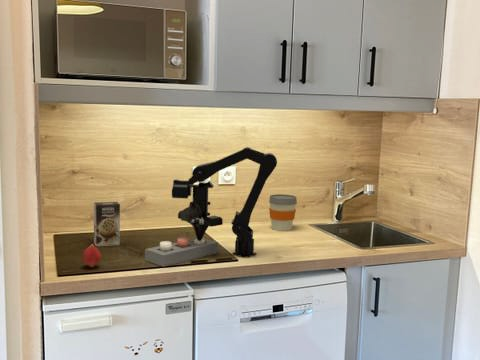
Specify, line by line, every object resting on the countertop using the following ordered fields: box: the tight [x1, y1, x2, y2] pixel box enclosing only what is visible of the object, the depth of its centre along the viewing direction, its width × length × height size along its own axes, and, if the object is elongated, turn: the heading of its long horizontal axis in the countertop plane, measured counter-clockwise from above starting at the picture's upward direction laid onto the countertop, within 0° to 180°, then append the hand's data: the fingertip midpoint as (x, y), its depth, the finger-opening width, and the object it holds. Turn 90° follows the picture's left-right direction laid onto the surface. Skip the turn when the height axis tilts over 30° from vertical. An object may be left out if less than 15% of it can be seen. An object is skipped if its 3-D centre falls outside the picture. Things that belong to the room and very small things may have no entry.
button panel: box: [144, 237, 219, 268], centre depth 187 cm, size 10×26×4 cm, turn 137°
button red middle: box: [176, 237, 190, 248], centre depth 187 cm, size 4×4×3 cm
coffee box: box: [93, 201, 121, 247], centre depth 199 cm, size 9×6×16 cm
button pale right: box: [194, 239, 205, 244], centre depth 193 cm, size 4×4×3 cm
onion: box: [82, 243, 102, 268], centre depth 171 cm, size 6×6×8 cm
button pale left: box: [159, 240, 172, 252], centre depth 181 cm, size 4×4×3 cm
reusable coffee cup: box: [268, 193, 298, 232], centre depth 235 cm, size 13×13×15 cm
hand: (199, 240), depth 192 cm, fingers closed
